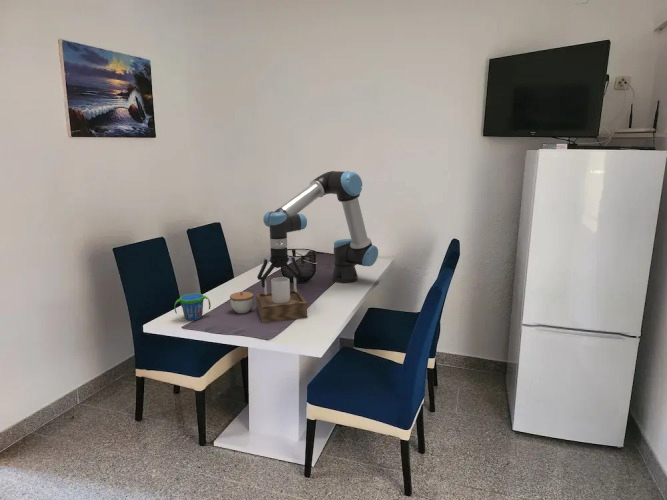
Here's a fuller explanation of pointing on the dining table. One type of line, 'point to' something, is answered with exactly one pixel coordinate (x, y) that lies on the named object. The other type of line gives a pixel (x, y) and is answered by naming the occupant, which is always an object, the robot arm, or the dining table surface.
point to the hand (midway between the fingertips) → (280, 292)
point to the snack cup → (192, 305)
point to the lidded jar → (241, 301)
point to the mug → (280, 290)
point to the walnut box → (281, 307)
